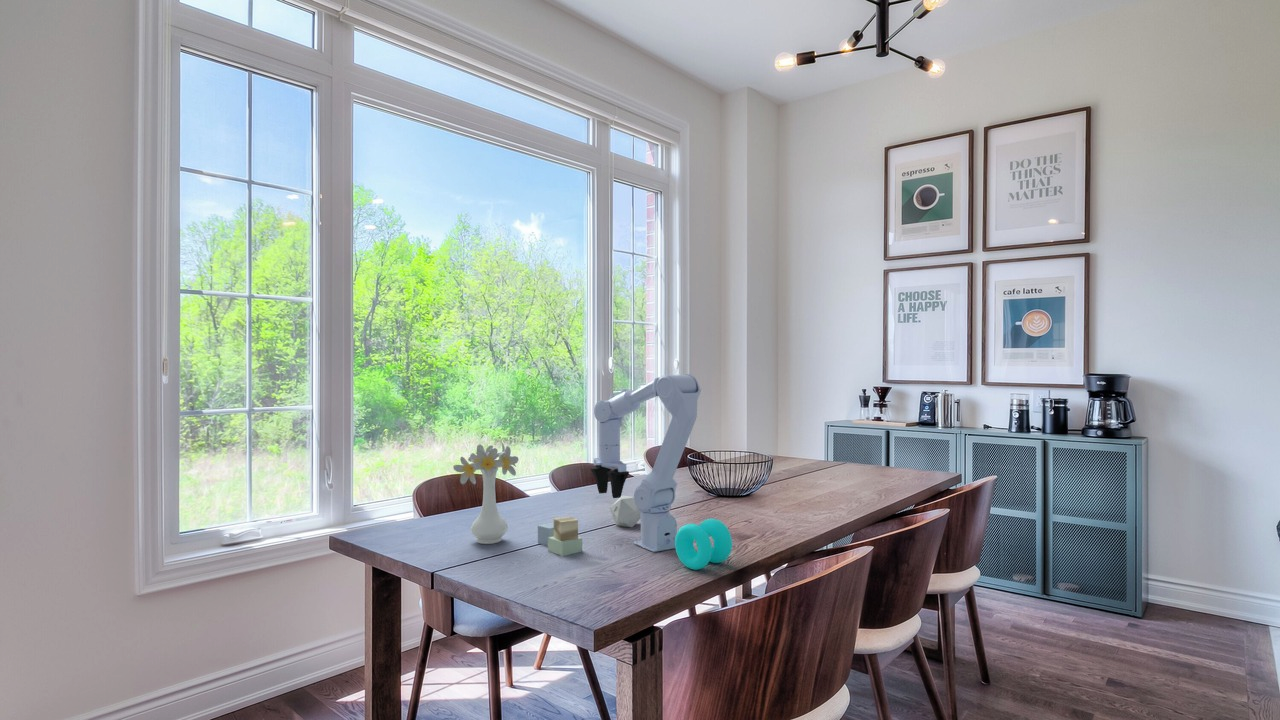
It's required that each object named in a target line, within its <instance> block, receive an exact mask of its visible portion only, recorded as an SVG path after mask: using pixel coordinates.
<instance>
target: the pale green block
mask: <svg viewBox="0 0 1280 720" xmlns="http://www.w3.org/2000/svg"><path fill="white" fill-rule="evenodd" d="M547 551H548V552H550V553H553V554H556V555H559V556H561V557H563V556H568V555H572V554H577V553H581V552H583V537H581V536H578V539H571V540H564V541H560V540H558V539H556V538H555V537H554V536H553V537H548V546H547Z"/></svg>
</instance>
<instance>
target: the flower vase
mask: <svg viewBox="0 0 1280 720" xmlns="http://www.w3.org/2000/svg"><path fill="white" fill-rule="evenodd" d="M501 449H502V450H501V451H502V452H498V449H497V448H496V447H495V448H494V447H493V444H492V445H489V446H487V447H486V448H484V446H483V445H482V444H478V445H477V446H476V452H475V453H474V452H471V453H470V456H469V457H468V458H467V459H466V458H465V457H464V456H460V458H459V459H460V460H459V461H460V463H461V464H455V465H453V466H452V467H453V470H454V471H456V472H457V473H462V474H461V475H460V478H459V482H460V484H462V485H465V484H466V483H467V481H468V480H469V481H470V482H471V484H473V485H476V484H477V479H476V476H475V472H476V471H480V473H481V475H482V476H481V477H482V482H483V483H482V484H483V485H482V486H483V488H482V489H483V492H482V494H483V495H482V506H481V509H480V513H479V515H478V516H477V517H476V518H475V519H474V521H473V522H472V524H471V528H470V531H471V534H472V535H473V537H475V538H476V541H477V543H478V544H482V545H492V544H498V543H500V542H501V541H502V540H503V539H502V537H503V536H504V535H506V533H507V532H508V527H509V526H508V523H507V521H506V520H505V518H504V517H503V516H502V515H501V514H500V512H499V510H498V508H497V499H496V478H497V472H498V470H499V468H501V472H502V473H501V474H503V476H505V475H507V473H508V472H509V473H510V475H512V476H514V477H515V476H516V475H517V472H516V469H515V468H517V465H516V464H517V463H518V462H519V457H518V456H517V455H516V456H515V455H514V456H511V451H512V450H511V447H510V446H509V445H506V446H505V445H504V442H501ZM467 460H468V461H467ZM469 462H470V463H469Z"/></svg>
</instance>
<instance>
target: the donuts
mask: <svg viewBox="0 0 1280 720" xmlns="http://www.w3.org/2000/svg"><path fill="white" fill-rule="evenodd" d="M729 530H730V529H728V527H727V525H726V524H724V523H723V522H722V521H721V520H719V519H716V518H708V519H704V520H703V521H701V522H700V524H699V525H698V524H695V523H687V524H685V525H682V526H681V527H680V528H679V530H677V535H676V539H675V548H674V549H675V552H676V555H677V557H678V559H679V561H680V562H681V563H682V565H684V566H685V567H687V568H688V569H691V570H695V571H696V570H702V569H703V568H705V567H706V566H707V565H708V564H709V562H710V563H713V564H719V563H722V562H725V561H726V560H727V559H728V558H729V557H730V555H731V552H732V550H733V539H732V534H731V532H730V531H729ZM710 537H711V539H712V540H711V539H710ZM712 541H713V545H712ZM694 542H695V543H696V548H697V550H696V549H695V547H694Z"/></svg>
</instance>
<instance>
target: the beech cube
mask: <svg viewBox="0 0 1280 720" xmlns="http://www.w3.org/2000/svg"><path fill="white" fill-rule="evenodd" d="M553 523H554V537H555V538H556V539H558V540H560V541H564V540H571V539H578V537H579V519H577V518H575V517H572V516H564V517H563V516H562V517H555V518H553Z"/></svg>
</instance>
